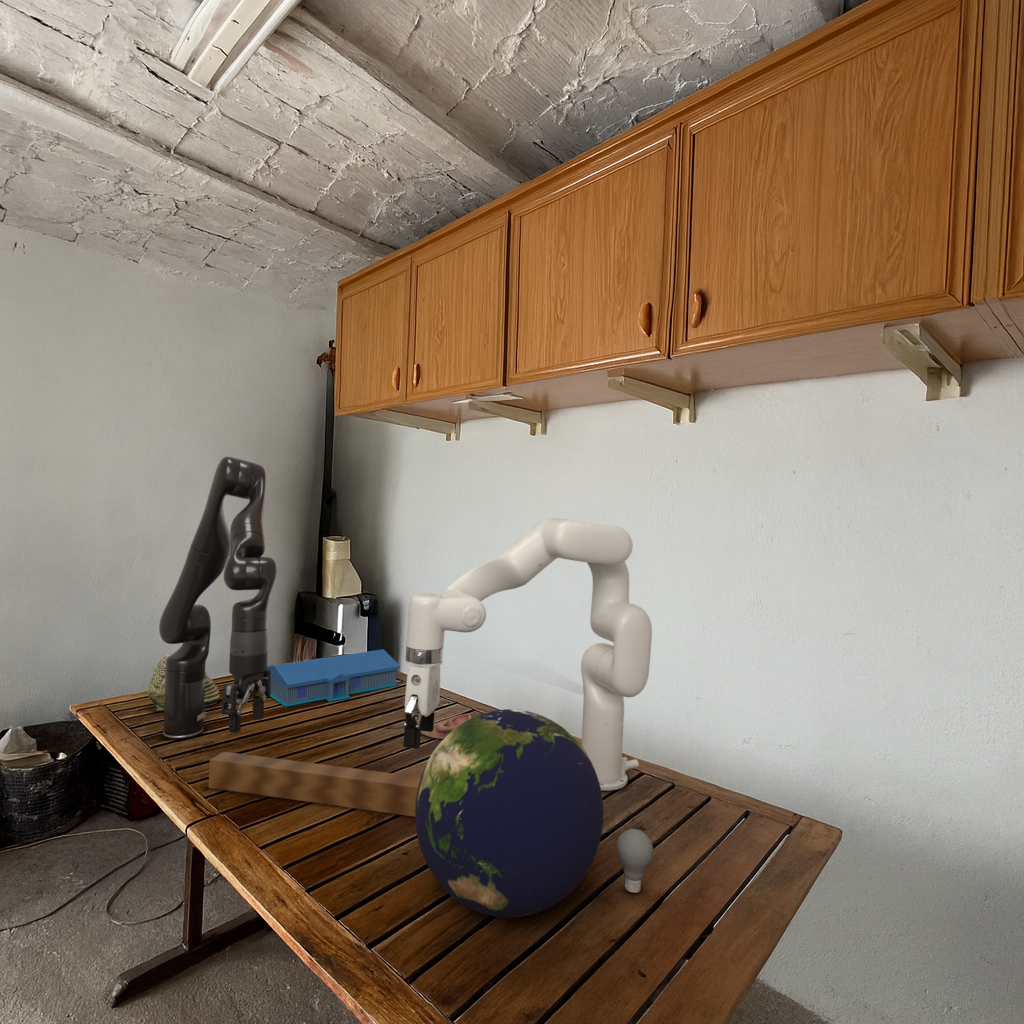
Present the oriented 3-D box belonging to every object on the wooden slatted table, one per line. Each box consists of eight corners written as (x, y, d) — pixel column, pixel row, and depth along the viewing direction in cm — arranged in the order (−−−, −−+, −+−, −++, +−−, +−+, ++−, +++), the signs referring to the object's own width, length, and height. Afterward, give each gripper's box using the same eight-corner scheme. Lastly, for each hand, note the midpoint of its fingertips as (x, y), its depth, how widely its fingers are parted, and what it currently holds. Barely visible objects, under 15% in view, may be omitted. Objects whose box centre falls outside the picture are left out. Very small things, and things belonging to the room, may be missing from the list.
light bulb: (610, 879, 108) (613, 822, 108) (644, 879, 109) (647, 822, 109) (619, 902, 102) (622, 840, 102) (655, 901, 103) (658, 840, 103)
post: (208, 787, 136) (209, 759, 136) (222, 778, 140) (223, 751, 140) (452, 822, 126) (453, 791, 126) (458, 810, 130) (459, 781, 130)
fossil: (144, 707, 182) (145, 655, 182) (212, 696, 194) (213, 647, 194) (151, 716, 175) (153, 662, 175) (221, 703, 188) (223, 653, 188)
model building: (289, 709, 186) (291, 675, 185) (258, 688, 204) (259, 657, 204) (403, 687, 212) (405, 657, 212) (366, 670, 230) (368, 643, 230)
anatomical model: (416, 721, 169) (430, 707, 181) (415, 736, 169) (429, 721, 181) (463, 727, 167) (475, 713, 178) (463, 742, 167) (474, 727, 178)
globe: (373, 928, 94) (381, 727, 93) (463, 833, 121) (470, 677, 121) (566, 996, 82) (577, 768, 82) (617, 874, 110) (625, 703, 109)
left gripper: (245, 659, 128) (243, 739, 128) (282, 644, 142) (280, 716, 142) (211, 656, 129) (209, 735, 129) (252, 641, 143) (249, 713, 143)
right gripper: (430, 667, 120) (424, 757, 120) (452, 648, 137) (447, 726, 137) (392, 663, 121) (386, 752, 121) (418, 644, 138) (413, 722, 138)
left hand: (246, 725), depth 136 cm, fingers open, 8 cm apart
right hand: (418, 738), depth 129 cm, fingers open, 9 cm apart
